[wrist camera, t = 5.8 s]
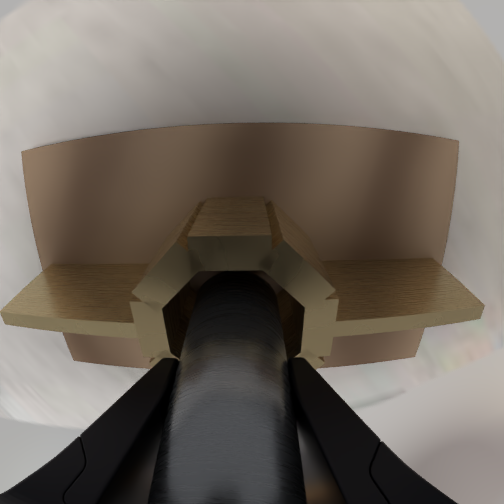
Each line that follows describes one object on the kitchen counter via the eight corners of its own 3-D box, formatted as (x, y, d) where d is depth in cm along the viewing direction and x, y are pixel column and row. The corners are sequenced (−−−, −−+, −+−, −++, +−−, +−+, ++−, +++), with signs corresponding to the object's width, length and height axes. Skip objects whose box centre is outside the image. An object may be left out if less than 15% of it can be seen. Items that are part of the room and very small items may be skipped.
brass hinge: (441, 201, 12) (504, 235, 8) (417, 317, 15) (457, 372, 11) (39, 209, 12) (-22, 244, 8) (68, 321, 15) (29, 375, 11)
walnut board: (447, 138, 12) (458, 141, 11) (408, 346, 17) (414, 356, 16) (33, 148, 12) (21, 151, 11) (79, 350, 17) (73, 360, 16)
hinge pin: (279, 269, 10) (335, 594, 2) (277, 339, 11) (305, 601, 3) (191, 270, 10) (104, 580, 2) (199, 340, 11) (159, 596, 3)
